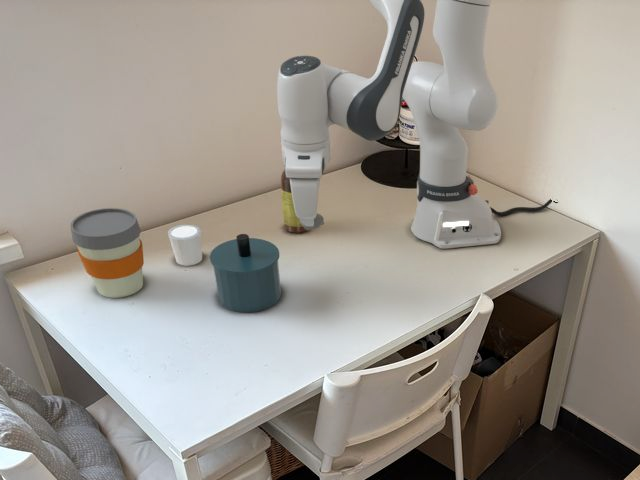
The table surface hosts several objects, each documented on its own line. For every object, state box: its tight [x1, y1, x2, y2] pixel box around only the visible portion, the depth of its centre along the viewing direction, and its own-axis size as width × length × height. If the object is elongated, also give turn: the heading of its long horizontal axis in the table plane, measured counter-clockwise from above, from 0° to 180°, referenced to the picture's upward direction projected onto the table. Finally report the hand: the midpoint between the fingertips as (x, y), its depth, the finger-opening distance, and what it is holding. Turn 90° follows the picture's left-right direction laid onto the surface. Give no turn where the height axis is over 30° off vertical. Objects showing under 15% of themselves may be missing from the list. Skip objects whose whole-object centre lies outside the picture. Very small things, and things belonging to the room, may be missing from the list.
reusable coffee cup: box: [69, 207, 145, 299], centre depth 144 cm, size 12×13×15 cm
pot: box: [213, 260, 282, 314], centre depth 146 cm, size 13×13×10 cm
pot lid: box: [209, 233, 280, 274], centre depth 142 cm, size 14×14×5 cm
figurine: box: [299, 212, 325, 231], centre depth 139 cm, size 5×4×6 cm
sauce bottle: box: [280, 168, 307, 234], centre depth 168 cm, size 6×6×20 cm
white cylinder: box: [167, 224, 203, 267], centre depth 157 cm, size 7×7×7 cm
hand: (310, 218), depth 140 cm, fingers closed on figurine, 4 cm apart
